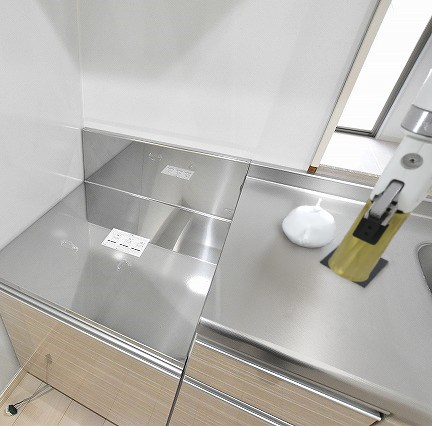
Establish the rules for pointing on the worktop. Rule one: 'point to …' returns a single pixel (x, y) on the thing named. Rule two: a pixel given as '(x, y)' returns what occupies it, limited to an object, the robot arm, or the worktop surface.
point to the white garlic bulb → (310, 226)
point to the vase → (363, 248)
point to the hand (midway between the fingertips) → (371, 231)
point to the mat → (373, 273)
